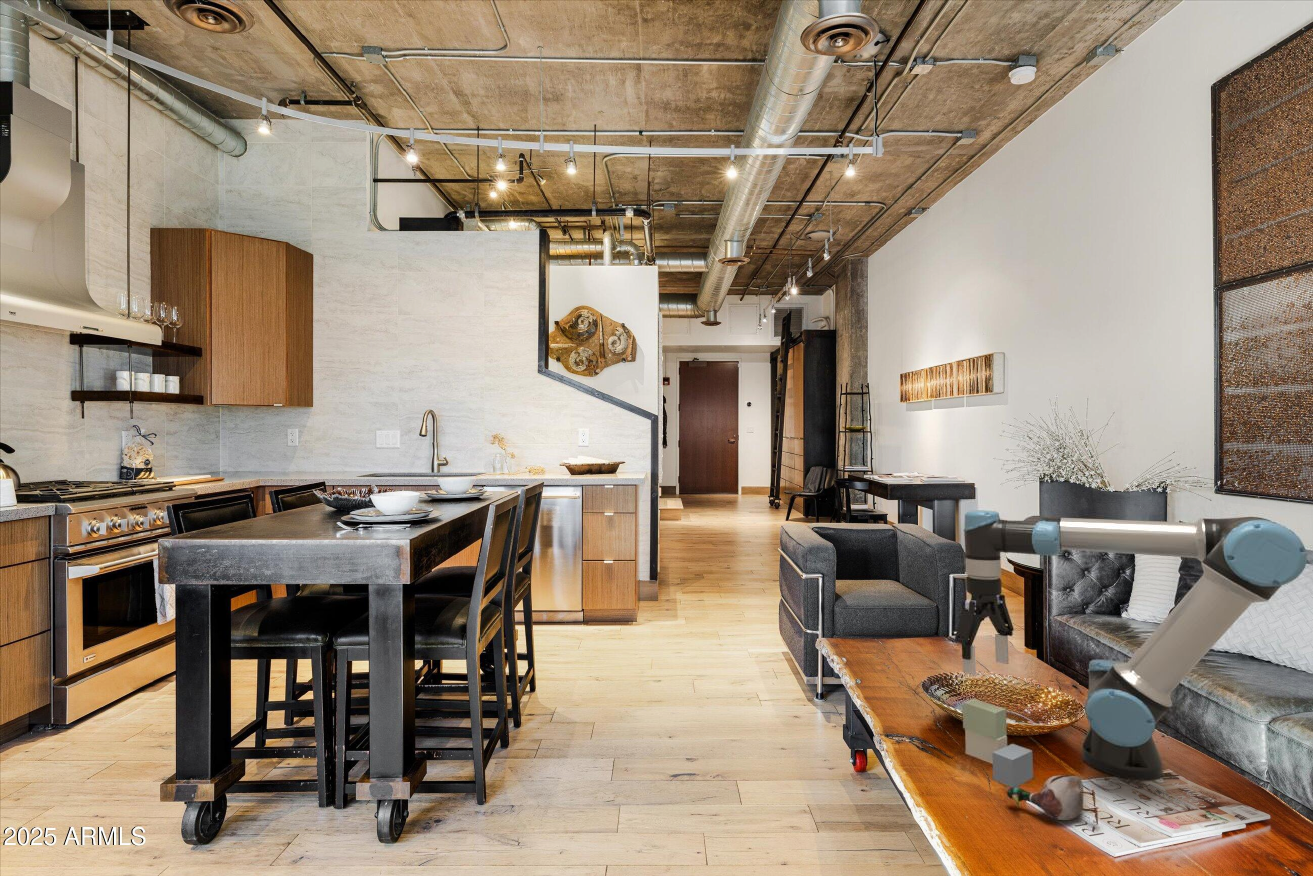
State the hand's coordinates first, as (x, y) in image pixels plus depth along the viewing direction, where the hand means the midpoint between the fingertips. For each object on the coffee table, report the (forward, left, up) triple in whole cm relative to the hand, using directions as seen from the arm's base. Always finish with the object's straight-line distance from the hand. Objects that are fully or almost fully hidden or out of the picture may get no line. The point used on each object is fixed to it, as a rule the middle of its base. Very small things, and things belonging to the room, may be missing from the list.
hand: (986, 668), depth 157 cm
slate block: (-9, +5, -21) cm, 23 cm away
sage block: (+1, 0, -15) cm, 15 cm away
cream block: (0, 0, -21) cm, 21 cm away
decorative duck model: (-20, +11, -21) cm, 31 cm away
